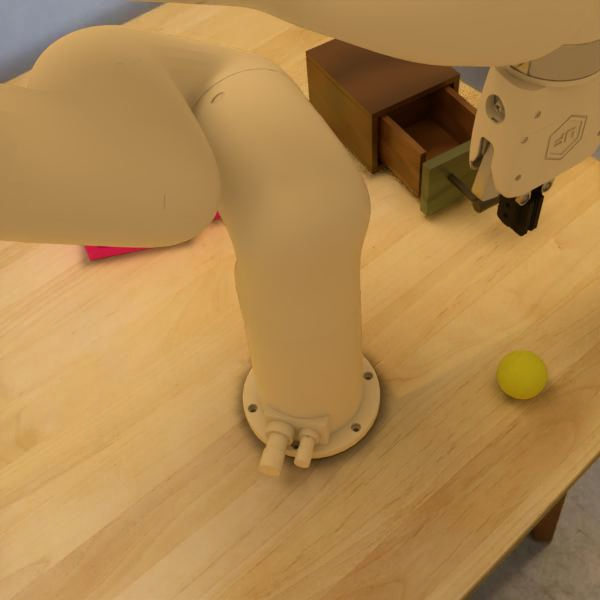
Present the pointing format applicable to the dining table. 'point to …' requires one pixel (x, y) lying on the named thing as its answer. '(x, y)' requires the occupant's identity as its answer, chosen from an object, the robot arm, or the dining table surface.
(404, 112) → the drawer
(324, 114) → the cabinet
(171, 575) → the dining table surface
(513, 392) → the yellow ball
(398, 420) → the dining table surface
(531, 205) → the robot arm
